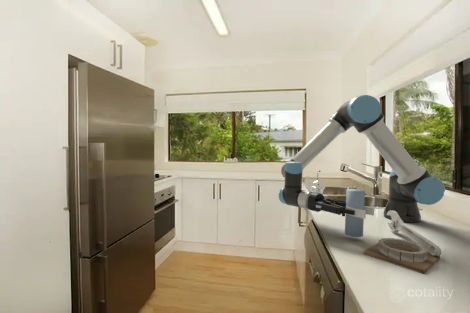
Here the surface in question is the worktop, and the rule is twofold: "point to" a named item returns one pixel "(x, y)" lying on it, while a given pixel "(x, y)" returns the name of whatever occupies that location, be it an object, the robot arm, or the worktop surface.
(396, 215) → the wrench
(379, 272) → the worktop surface
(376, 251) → the collar board
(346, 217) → the post
